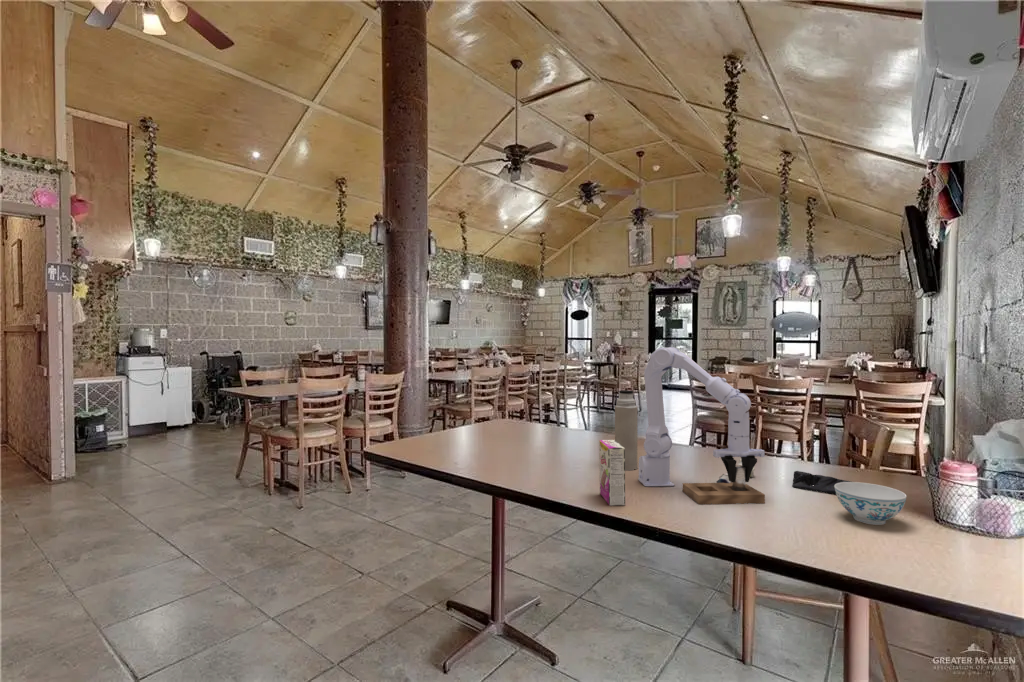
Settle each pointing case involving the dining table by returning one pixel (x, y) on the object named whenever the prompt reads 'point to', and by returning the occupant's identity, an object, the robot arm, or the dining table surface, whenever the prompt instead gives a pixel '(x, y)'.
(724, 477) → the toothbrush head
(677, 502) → the dining table surface
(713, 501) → the wooden holder tray
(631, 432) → the thermos bottle
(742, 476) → the steel pin
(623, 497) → the candy bar box
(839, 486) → the chinaware
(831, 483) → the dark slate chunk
